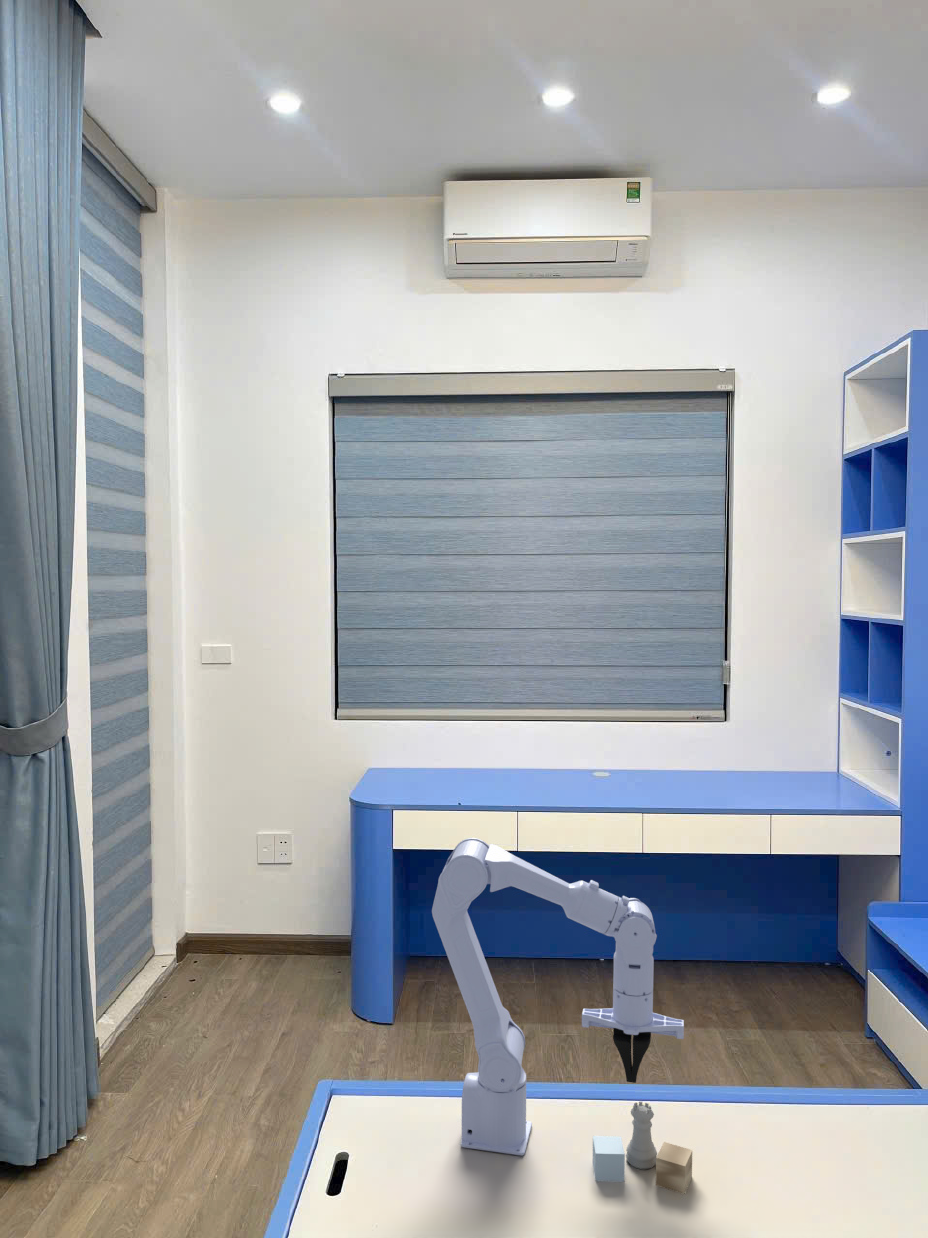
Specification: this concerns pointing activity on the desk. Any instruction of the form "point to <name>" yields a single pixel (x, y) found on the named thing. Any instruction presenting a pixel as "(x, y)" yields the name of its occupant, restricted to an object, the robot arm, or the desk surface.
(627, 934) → the robot arm
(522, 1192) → the desk surface
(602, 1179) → the pale blue block
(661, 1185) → the beech block
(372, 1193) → the desk surface
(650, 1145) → the rook chess piece
